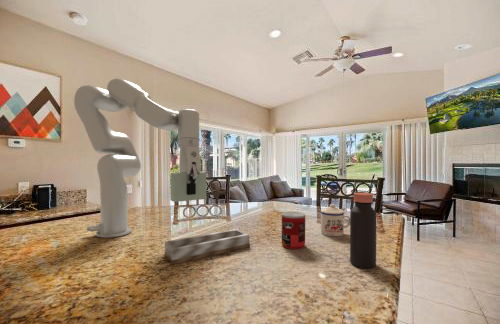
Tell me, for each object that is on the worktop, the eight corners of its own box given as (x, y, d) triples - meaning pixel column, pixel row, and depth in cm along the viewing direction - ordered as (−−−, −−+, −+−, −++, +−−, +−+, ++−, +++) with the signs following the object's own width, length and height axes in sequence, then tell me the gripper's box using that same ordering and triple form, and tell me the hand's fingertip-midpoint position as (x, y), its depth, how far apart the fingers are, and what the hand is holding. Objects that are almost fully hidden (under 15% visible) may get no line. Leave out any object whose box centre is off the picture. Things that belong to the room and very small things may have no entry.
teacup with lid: (323, 236, 96) (323, 206, 95) (317, 230, 105) (318, 202, 105) (355, 237, 95) (355, 206, 95) (346, 230, 104) (347, 202, 104)
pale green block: (174, 201, 87) (174, 173, 87) (170, 200, 90) (170, 172, 90) (206, 198, 93) (206, 172, 93) (202, 197, 97) (202, 171, 97)
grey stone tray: (173, 264, 71) (173, 250, 70) (164, 253, 78) (164, 241, 78) (249, 246, 85) (250, 234, 85) (236, 239, 93) (236, 228, 93)
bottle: (374, 271, 66) (375, 196, 66) (347, 265, 70) (348, 194, 70) (377, 262, 72) (377, 193, 72) (352, 257, 76) (352, 191, 75)
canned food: (279, 242, 89) (279, 211, 89) (301, 241, 90) (301, 211, 90) (284, 250, 82) (284, 216, 82) (308, 249, 82) (308, 216, 82)
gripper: (207, 142, 87) (207, 195, 87) (190, 145, 100) (190, 190, 101) (186, 142, 82) (186, 197, 83) (171, 144, 96) (171, 192, 96)
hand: (188, 193), depth 92 cm, fingers closed on pale green block, 4 cm apart
